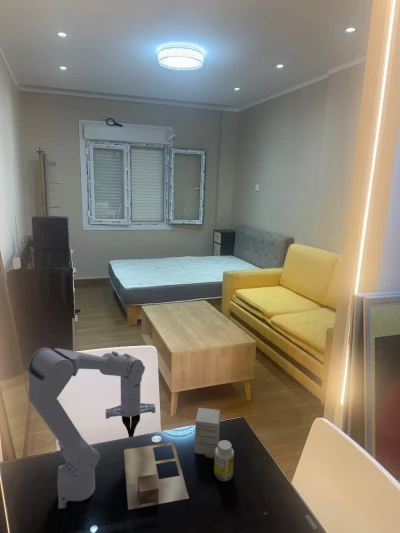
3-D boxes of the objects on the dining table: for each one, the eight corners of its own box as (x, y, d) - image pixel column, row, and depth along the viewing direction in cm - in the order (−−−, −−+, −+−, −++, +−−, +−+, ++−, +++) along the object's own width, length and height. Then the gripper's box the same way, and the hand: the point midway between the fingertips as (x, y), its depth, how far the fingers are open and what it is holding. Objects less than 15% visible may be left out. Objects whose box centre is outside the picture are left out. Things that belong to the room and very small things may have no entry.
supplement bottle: (230, 467, 110) (232, 437, 107) (234, 481, 104) (236, 451, 102) (212, 467, 109) (214, 438, 107) (215, 482, 104) (216, 452, 101)
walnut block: (139, 504, 94) (139, 492, 93) (137, 489, 99) (137, 477, 98) (158, 501, 95) (158, 488, 95) (156, 486, 100) (156, 474, 99)
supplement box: (197, 440, 120) (198, 406, 118) (219, 443, 120) (221, 409, 117) (193, 456, 113) (194, 421, 111) (217, 459, 112) (219, 423, 110)
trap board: (128, 513, 93) (128, 509, 93) (123, 452, 114) (123, 449, 113) (188, 501, 97) (188, 498, 97) (173, 445, 118) (174, 442, 117)
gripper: (153, 385, 112) (153, 423, 115) (105, 390, 108) (106, 429, 111) (156, 398, 105) (156, 438, 108) (105, 403, 102) (106, 445, 105)
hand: (130, 435), depth 109 cm, fingers closed
